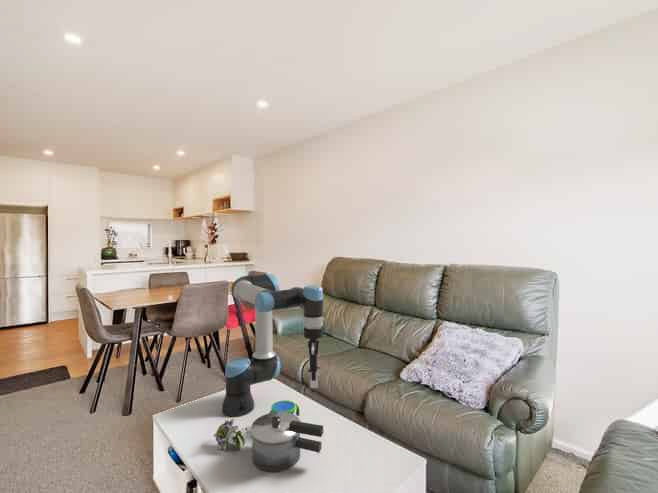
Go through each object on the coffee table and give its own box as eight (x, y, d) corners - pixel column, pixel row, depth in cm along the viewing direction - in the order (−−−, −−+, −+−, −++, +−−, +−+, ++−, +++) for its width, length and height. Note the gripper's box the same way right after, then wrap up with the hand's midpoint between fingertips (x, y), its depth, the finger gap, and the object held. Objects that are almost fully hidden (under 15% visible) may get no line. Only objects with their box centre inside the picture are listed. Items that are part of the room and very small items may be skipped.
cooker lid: (241, 439, 121) (240, 428, 121) (265, 413, 139) (265, 403, 139) (313, 453, 113) (313, 441, 112) (329, 423, 131) (329, 413, 130)
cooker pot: (268, 437, 139) (267, 414, 139) (328, 451, 130) (328, 426, 129) (242, 465, 122) (242, 438, 122) (310, 484, 113) (310, 455, 112)
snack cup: (294, 417, 154) (293, 396, 154) (305, 428, 145) (305, 405, 145) (262, 428, 145) (261, 405, 145) (271, 441, 137) (271, 416, 136)
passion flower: (221, 462, 132) (205, 435, 134) (241, 442, 141) (226, 418, 143) (236, 456, 126) (219, 428, 128) (255, 436, 135) (239, 410, 137)
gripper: (322, 331, 121) (323, 395, 122) (323, 322, 134) (323, 379, 135) (302, 331, 121) (302, 395, 122) (304, 322, 134) (305, 379, 135)
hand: (313, 387), depth 129 cm, fingers closed
